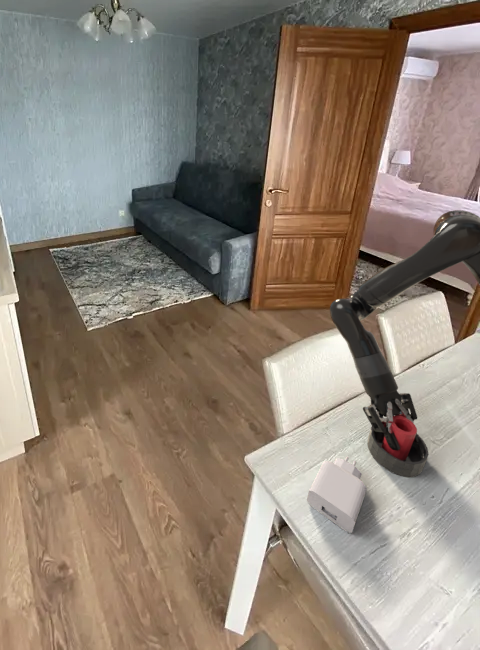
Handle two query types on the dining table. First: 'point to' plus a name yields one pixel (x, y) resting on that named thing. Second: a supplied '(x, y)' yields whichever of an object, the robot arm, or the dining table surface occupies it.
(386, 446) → the red cup
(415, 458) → the pan
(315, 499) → the charger
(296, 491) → the dining table surface
